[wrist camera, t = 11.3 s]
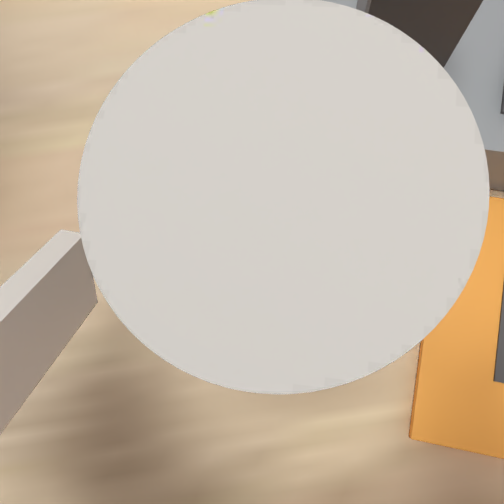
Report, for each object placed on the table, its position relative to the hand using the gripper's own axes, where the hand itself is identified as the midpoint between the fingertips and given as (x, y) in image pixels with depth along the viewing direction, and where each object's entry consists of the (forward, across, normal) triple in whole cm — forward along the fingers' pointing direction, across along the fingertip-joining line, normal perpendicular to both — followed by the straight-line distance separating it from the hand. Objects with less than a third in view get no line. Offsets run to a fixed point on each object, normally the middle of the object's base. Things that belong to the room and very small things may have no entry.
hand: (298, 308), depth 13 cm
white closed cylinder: (+7, -1, -4) cm, 8 cm away
